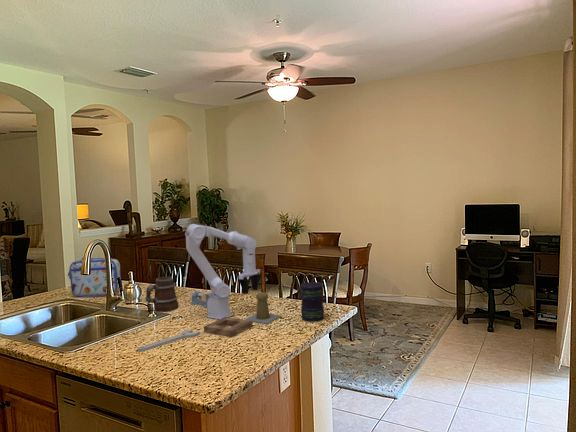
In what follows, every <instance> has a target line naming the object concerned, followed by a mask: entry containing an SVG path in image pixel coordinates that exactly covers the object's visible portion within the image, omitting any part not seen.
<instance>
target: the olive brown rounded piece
mask: <svg viewBox="0 0 576 432" xmlns="http://www.w3.org/2000/svg"><path fill="white" fill-rule="evenodd" d="M255 299H256V301H257V306H256V313H255V314H256V319H259V320H264V319H269V318H270V315H269V314H270V310H269V304H268V299H269V295H268V293H267V292H258V293H257V294H256V296H255Z"/></svg>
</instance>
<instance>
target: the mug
mask: <svg viewBox="0 0 576 432" xmlns="http://www.w3.org/2000/svg"><path fill="white" fill-rule="evenodd" d="M175 287H176V283H175V281H174V278H173V277H172V276H162V277H161V276H160V277H157V278H156V279H155V281H154V284H150V285H148V286H147V288H146V290H145V291H146V294H145V298H144V299H145V301H146V302H147V303H148V304H150V302H153V303H152V304H153V305H154V304H155V310H156V311H155V310H154V311H155V312H168V311H174V310H176V309H178V308H179V301H178V300H177V299H179V298H178V295H177V294H176V289H175ZM153 290H154V297H153V298H152V297H151V294H152V291H153Z"/></svg>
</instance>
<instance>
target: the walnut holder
mask: <svg viewBox="0 0 576 432" xmlns="http://www.w3.org/2000/svg"><path fill="white" fill-rule="evenodd" d="M244 319H245V318H237V317H236V318H235V317H231V316H230V317H224V318H221V319H216V320H214V321H212V322H210V323H208V324H206V325H203V333H207V334H210V335H211V334H212V335H217V336H222V337H228V338H234V337H236V336H237V335H239V334H241V333H243V332H245V331H248V330H249V329H250V328H253V322H252V321H250V320H244Z"/></svg>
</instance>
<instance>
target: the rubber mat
mask: <svg viewBox="0 0 576 432" xmlns="http://www.w3.org/2000/svg"><path fill="white" fill-rule="evenodd" d="M256 314H257V313H255V314H253V315H251V316H249V317H247V318H243V319H244V320H250V321H252V323H255V324H261V325H269V324H270V323H273V322H274V321H276V320H278V319H279V318H282V316H283V315H281V314H275V313H269V315H270V318H269V319H264V320H259V319H256Z"/></svg>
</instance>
